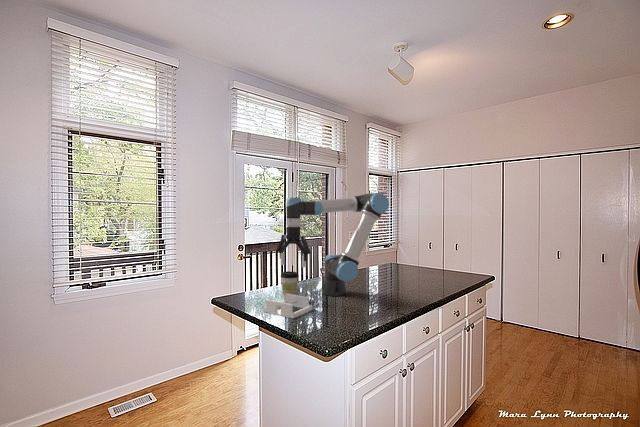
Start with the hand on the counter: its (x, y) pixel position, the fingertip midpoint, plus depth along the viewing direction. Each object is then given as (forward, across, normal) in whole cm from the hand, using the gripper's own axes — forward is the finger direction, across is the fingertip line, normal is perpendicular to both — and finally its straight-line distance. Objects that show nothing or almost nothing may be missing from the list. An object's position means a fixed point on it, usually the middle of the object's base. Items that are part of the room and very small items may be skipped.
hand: (293, 266), depth 182 cm
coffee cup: (+20, -5, +4) cm, 21 cm away
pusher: (+19, +6, -13) cm, 24 cm away
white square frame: (+20, +6, -12) cm, 24 cm away
